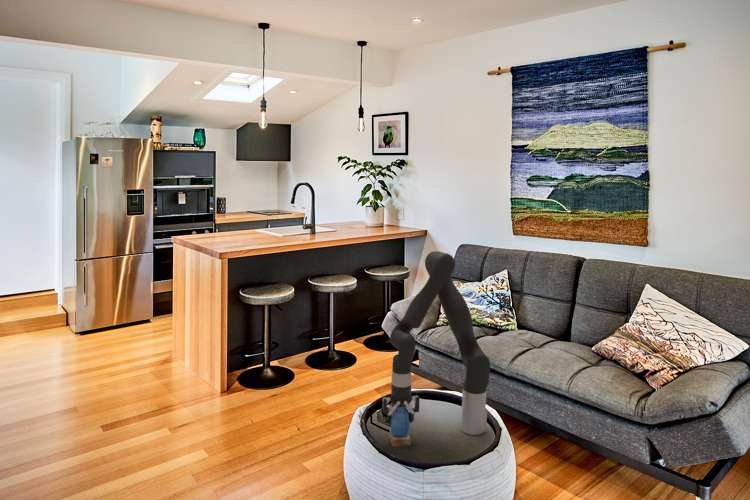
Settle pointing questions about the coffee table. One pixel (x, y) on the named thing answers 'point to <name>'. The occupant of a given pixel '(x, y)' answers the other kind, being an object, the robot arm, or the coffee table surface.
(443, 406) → the coffee table surface
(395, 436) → the pedestal
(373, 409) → the coffee table surface
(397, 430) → the perfume bottle
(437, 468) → the coffee table surface
